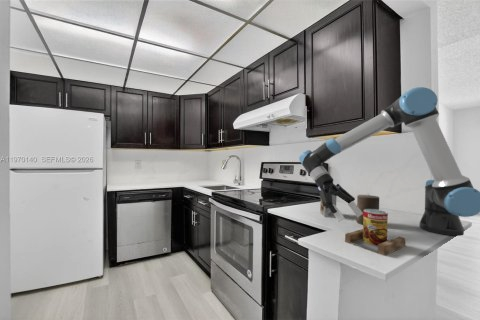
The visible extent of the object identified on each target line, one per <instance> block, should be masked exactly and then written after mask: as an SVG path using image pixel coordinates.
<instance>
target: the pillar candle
mask: <svg viewBox="0 0 480 320" xmlns="http://www.w3.org/2000/svg"><path fill="white" fill-rule="evenodd" d="M356 199H357V201H356V205H357V206H358V208H359V209H360V210H361V211H362V213H364V209H377V210H380V196H378V195H371V194H357V196H356ZM356 223H357V224H360V225H363V214H362V215H361V216H359V217H357V216H356Z"/></svg>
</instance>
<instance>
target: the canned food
mask: <svg viewBox="0 0 480 320" xmlns="http://www.w3.org/2000/svg"><path fill="white" fill-rule="evenodd" d="M388 215H389V213H388V211H385V210H382V209H379V210H377V209H364V213H363V224H362V226H363V227H362V229H363V242H365V243H367V244H369V245H373V246H378V244H381V243H383V242H386V241H387V240H388V219H389V217H388Z"/></svg>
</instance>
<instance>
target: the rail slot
mask: <svg viewBox="0 0 480 320" xmlns="http://www.w3.org/2000/svg"><path fill="white" fill-rule="evenodd" d="M344 239H345V240H344V242H345V243H348V244H350V245H353V246H356V247H359V248H362V249H364V250H366V251H367V250H368V251H371V252H374V253H375V254H379V255H382V256H386V255H388V254H391V253H394V252H395V251H397V250H400V249H401V248H403V247H406V240H407V239H406V237H402V236H397V237H395V238H392V239H387V241H386V242H383V243H381V244H378V246H373V245H369V244H367V243H365V242H363V228H361V229H357V230H355V231H351V232H347V233H345V236H344Z"/></svg>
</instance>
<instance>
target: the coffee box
mask: <svg viewBox="0 0 480 320" xmlns="http://www.w3.org/2000/svg"><path fill="white" fill-rule="evenodd" d="M337 197H338V196H335V195H332V203H333V204H335V205H336V206H337ZM325 202H326V201H325ZM333 204H332V205H333ZM319 212H320V214H321V215H322V216H323V217H324V218H336V217H335V215H334V214H333V213H332V211H331V210H330V209H329V208H328V209H327V208H326V206H325V207H324V206H323V204H322V201H321V200H320V210H319Z"/></svg>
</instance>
